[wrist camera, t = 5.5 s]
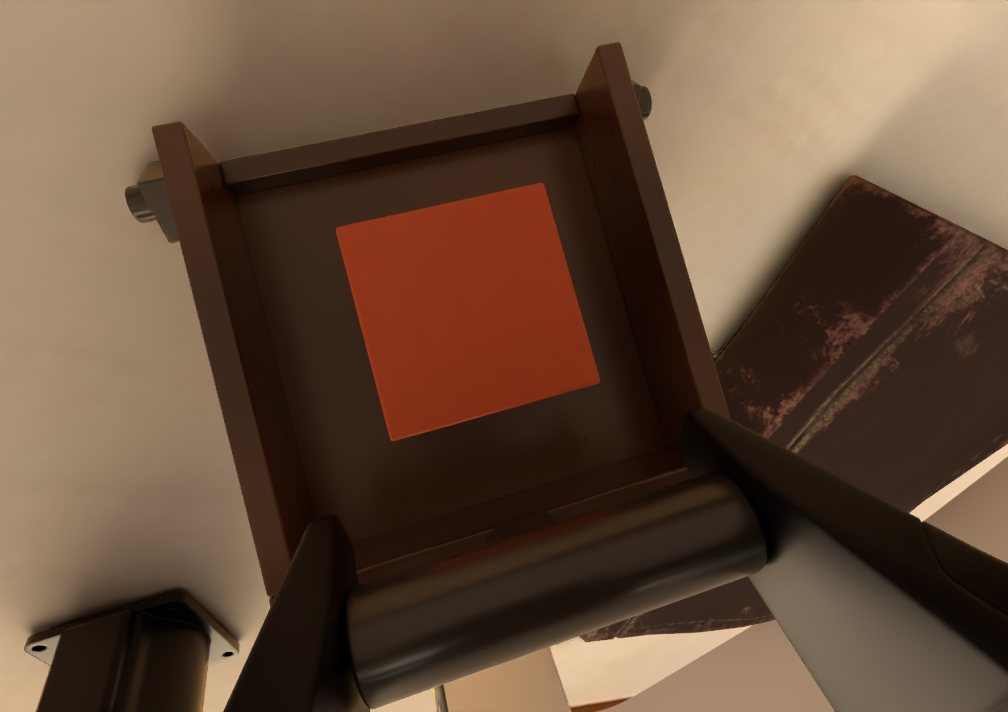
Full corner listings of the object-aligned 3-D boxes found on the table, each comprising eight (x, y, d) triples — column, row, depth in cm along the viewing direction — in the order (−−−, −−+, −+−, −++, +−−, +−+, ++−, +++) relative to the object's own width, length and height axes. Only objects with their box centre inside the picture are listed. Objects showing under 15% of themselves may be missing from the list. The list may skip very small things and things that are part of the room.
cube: (554, 390, 14) (602, 382, 10) (403, 432, 14) (390, 442, 10) (513, 243, 14) (543, 180, 10) (362, 279, 14) (333, 226, 10)
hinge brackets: (635, 125, 17) (657, 140, 16) (154, 225, 15) (144, 250, 14) (639, 68, 16) (663, 80, 15) (121, 166, 14) (106, 189, 12)
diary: (543, 564, 32) (574, 650, 29) (832, 163, 20) (955, 224, 16) (754, 556, 41) (799, 622, 37) (1050, 272, 28) (1164, 328, 24)
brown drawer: (687, 477, 15) (905, 541, 8) (316, 596, 14) (196, 798, 7) (582, 113, 16) (703, -118, 9) (213, 188, 14) (2, -21, 7)
